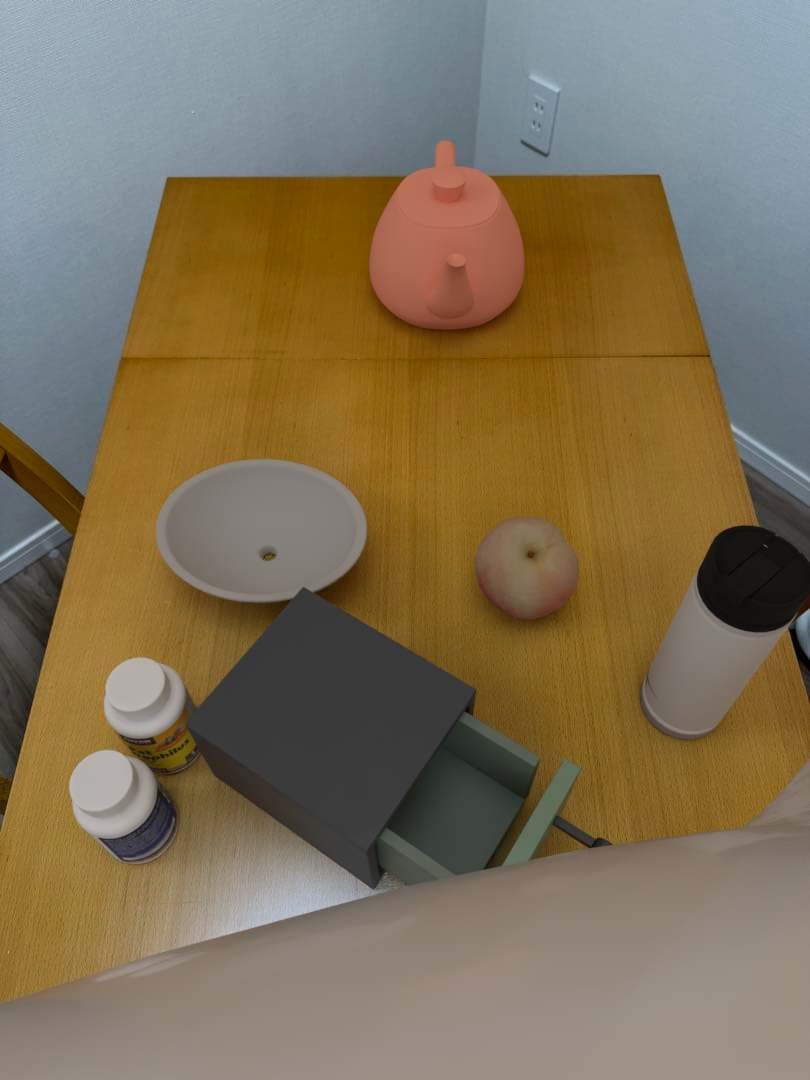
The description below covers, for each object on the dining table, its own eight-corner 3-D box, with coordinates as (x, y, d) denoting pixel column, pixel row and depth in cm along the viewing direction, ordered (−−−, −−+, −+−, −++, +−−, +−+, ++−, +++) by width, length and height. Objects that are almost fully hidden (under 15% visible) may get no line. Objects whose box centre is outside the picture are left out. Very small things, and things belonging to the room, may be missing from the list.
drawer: (618, 840, 59) (642, 804, 53) (539, 993, 54) (554, 974, 48) (407, 709, 65) (405, 662, 59) (316, 835, 60) (304, 799, 54)
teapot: (533, 370, 87) (549, 259, 76) (369, 374, 87) (361, 264, 76) (512, 221, 102) (523, 110, 91) (371, 225, 102) (365, 114, 91)
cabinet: (470, 744, 65) (476, 689, 57) (374, 890, 59) (366, 851, 51) (316, 648, 69) (302, 586, 62) (213, 775, 63) (183, 723, 56)
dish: (144, 613, 72) (127, 581, 67) (200, 481, 80) (188, 446, 76) (349, 648, 69) (344, 617, 65) (386, 509, 77) (383, 474, 73)
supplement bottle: (136, 785, 63) (92, 731, 55) (132, 716, 66) (90, 655, 58) (212, 767, 64) (180, 711, 55) (204, 700, 67) (173, 638, 59)
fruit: (499, 649, 69) (507, 597, 63) (459, 572, 73) (462, 516, 67) (586, 616, 71) (603, 563, 64) (542, 542, 75) (553, 485, 68)
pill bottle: (195, 808, 62) (161, 759, 54) (152, 878, 59) (110, 837, 51) (133, 778, 63) (91, 725, 55) (89, 845, 61) (38, 800, 53)
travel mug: (619, 700, 66) (684, 557, 50) (674, 651, 69) (754, 498, 52) (682, 760, 64) (773, 628, 47) (738, 706, 66) (843, 563, 50)
